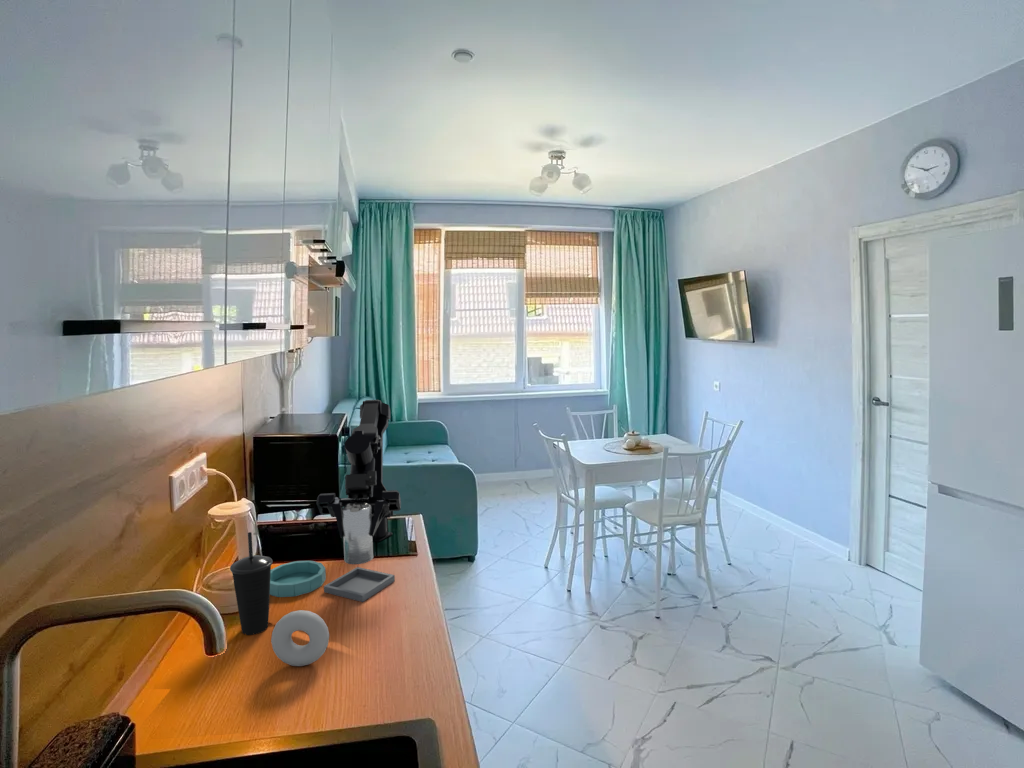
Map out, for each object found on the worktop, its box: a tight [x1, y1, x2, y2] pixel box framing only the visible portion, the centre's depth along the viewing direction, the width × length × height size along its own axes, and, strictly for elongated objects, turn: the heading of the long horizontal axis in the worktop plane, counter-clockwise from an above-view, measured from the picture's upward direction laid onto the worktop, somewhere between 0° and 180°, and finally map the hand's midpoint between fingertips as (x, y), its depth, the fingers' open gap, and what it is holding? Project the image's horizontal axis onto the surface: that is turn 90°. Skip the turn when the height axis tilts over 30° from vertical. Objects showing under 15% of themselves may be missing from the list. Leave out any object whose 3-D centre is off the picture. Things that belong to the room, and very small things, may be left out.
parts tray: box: [323, 566, 396, 603], centre depth 127 cm, size 11×11×2 cm
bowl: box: [270, 560, 327, 598], centre depth 129 cm, size 13×13×4 cm
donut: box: [270, 609, 330, 667], centre depth 98 cm, size 10×4×10 cm, turn 94°
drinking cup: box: [229, 531, 273, 636], centre depth 110 cm, size 8×8×20 cm
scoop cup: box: [342, 502, 374, 565], centre depth 126 cm, size 6×6×13 cm
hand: (356, 536), depth 125 cm, fingers closed on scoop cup, 6 cm apart
